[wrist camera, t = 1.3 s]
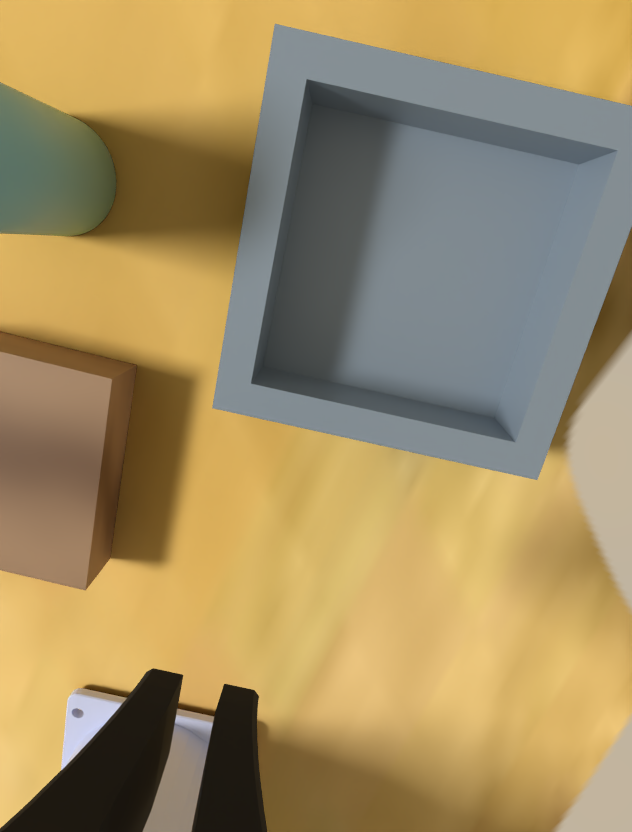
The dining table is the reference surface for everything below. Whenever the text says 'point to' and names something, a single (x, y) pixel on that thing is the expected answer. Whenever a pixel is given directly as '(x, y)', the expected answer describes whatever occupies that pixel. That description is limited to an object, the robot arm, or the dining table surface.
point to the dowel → (50, 170)
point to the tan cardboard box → (60, 458)
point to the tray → (422, 252)
